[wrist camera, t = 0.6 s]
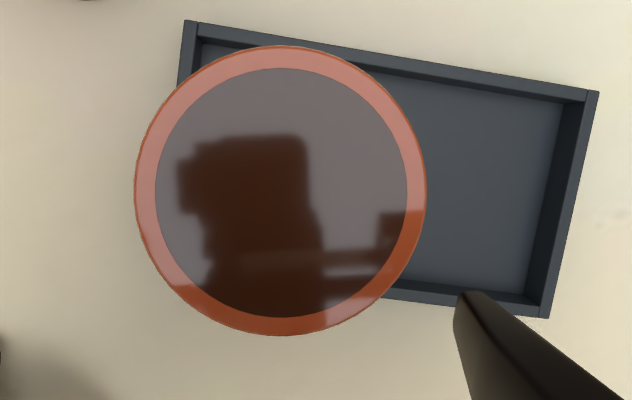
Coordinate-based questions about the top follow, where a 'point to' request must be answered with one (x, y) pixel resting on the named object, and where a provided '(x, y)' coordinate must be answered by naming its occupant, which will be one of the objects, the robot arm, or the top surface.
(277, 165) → the tumbler
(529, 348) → the robot arm
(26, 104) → the top surface
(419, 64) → the tray
